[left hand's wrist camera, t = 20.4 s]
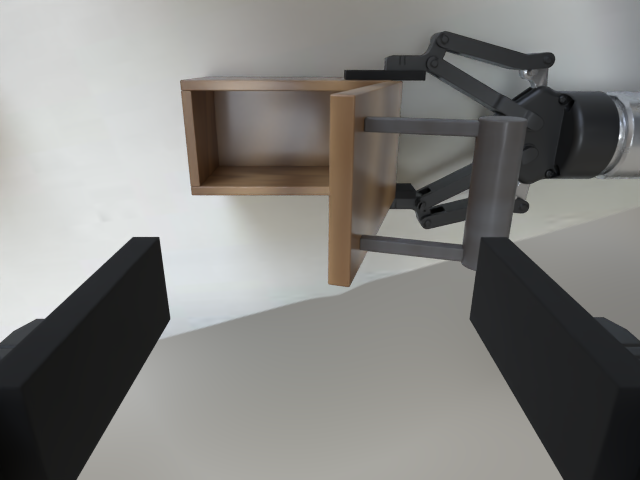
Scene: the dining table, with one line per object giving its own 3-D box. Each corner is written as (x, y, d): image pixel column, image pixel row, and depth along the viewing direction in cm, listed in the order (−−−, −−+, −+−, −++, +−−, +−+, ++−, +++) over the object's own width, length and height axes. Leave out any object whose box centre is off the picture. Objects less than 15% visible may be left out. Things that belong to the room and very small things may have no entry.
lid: (327, 285, 24) (504, 308, 21) (329, 94, 20) (540, 98, 18) (381, 196, 39) (487, 205, 37) (387, 80, 36) (504, 82, 33)
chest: (213, 171, 48) (191, 195, 39) (206, 76, 45) (179, 80, 36) (374, 171, 48) (387, 195, 39) (378, 77, 45) (393, 80, 36)
